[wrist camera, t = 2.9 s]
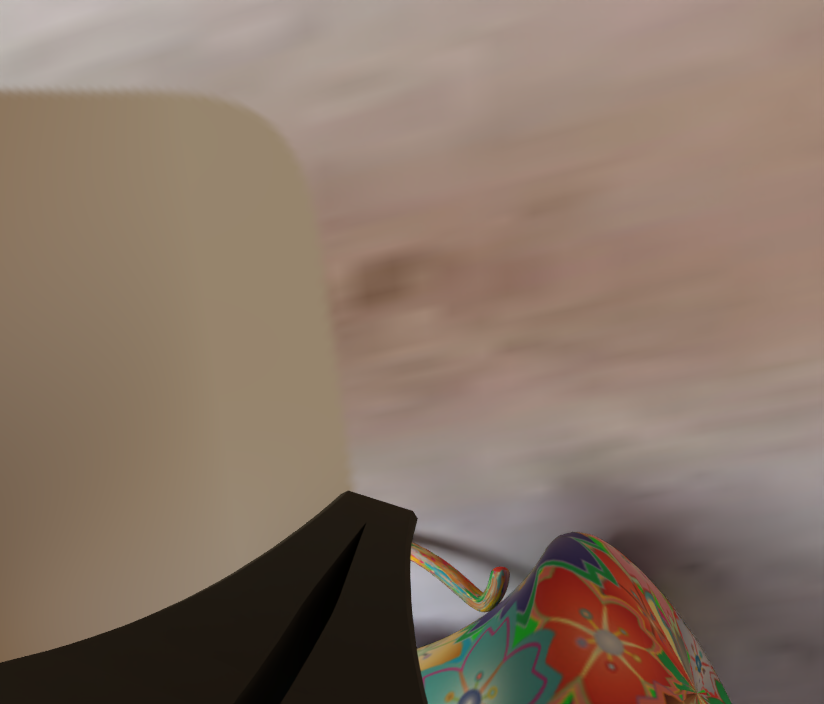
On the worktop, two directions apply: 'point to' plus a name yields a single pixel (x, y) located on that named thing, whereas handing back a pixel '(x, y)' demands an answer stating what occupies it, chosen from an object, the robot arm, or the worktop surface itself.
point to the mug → (567, 636)
